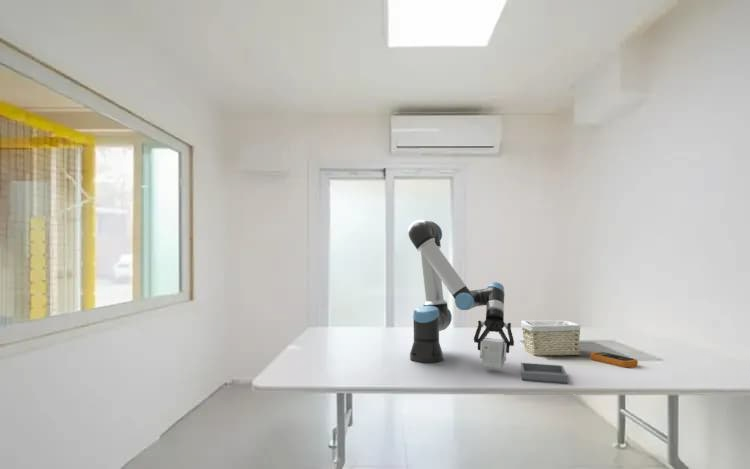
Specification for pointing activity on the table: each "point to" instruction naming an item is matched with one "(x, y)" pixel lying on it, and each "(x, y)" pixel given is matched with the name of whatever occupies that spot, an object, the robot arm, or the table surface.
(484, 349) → the small box
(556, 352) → the storage basket
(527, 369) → the tray
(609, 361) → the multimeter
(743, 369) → the table surface
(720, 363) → the table surface
